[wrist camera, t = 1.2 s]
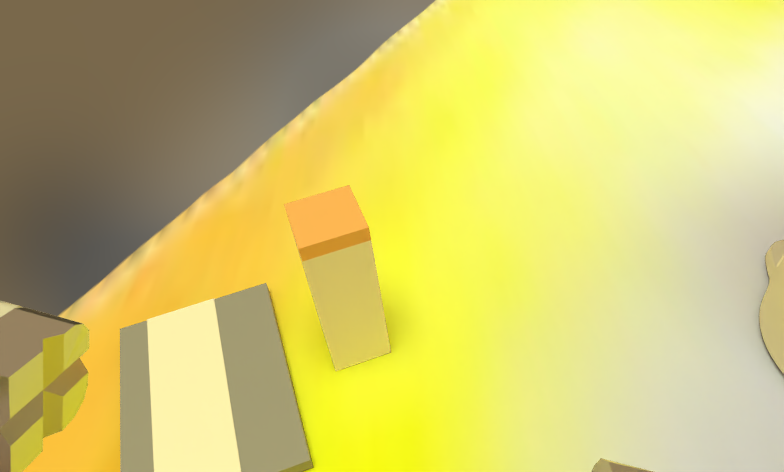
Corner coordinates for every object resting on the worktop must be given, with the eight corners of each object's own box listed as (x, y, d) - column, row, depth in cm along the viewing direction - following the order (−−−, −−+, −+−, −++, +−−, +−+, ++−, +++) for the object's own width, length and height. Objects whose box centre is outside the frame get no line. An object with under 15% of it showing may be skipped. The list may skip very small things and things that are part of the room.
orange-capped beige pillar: (373, 310, 44) (349, 185, 36) (391, 352, 41) (368, 227, 33) (321, 327, 43) (283, 204, 35) (335, 371, 41) (298, 249, 32)
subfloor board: (269, 291, 46) (265, 282, 46) (313, 467, 36) (309, 459, 35) (125, 337, 45) (119, 328, 44) (128, 536, 34) (120, 529, 33)
